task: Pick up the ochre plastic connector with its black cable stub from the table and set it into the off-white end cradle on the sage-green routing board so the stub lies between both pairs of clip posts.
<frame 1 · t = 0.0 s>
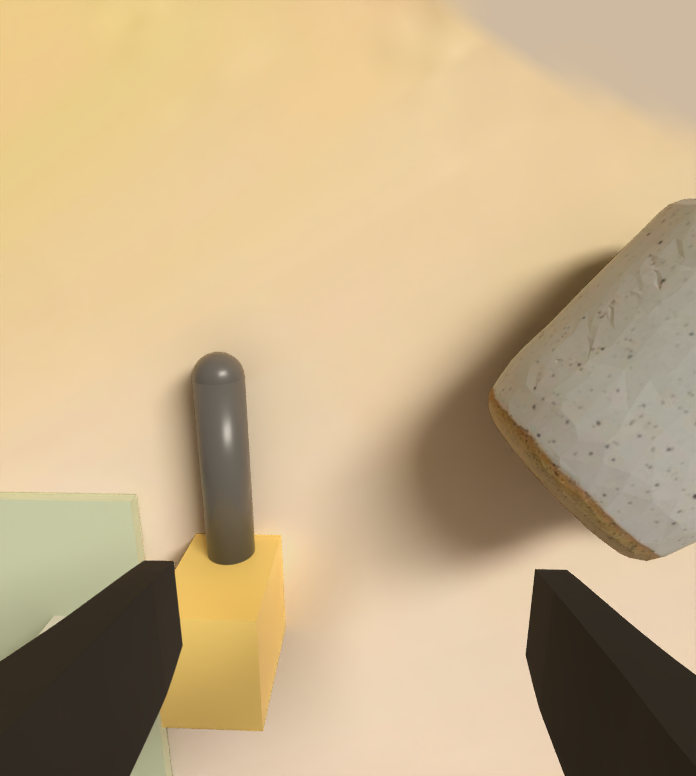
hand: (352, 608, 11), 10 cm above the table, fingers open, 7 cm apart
routing board: (50, 772, 26), on the table
connector: (242, 581, 23), on the table
ceramic mug: (637, 377, 20), on the table
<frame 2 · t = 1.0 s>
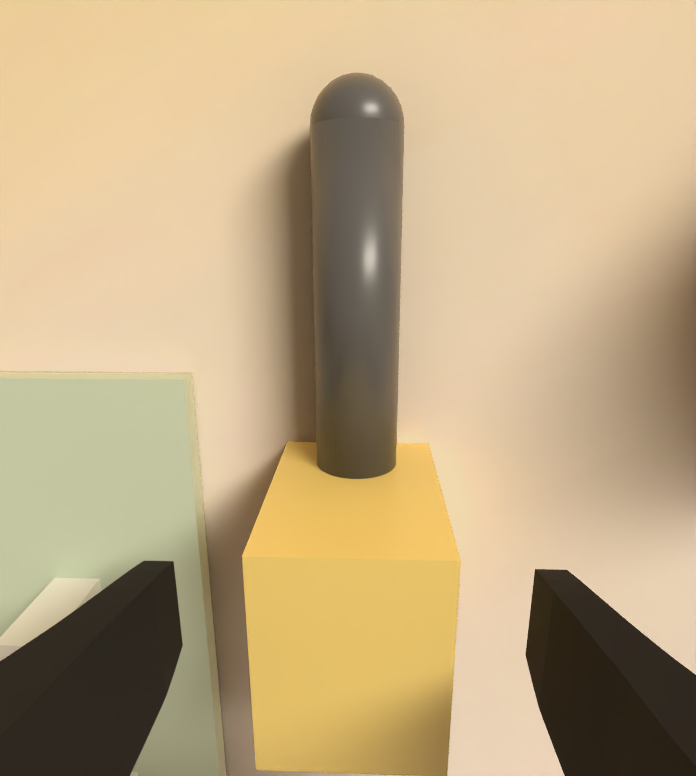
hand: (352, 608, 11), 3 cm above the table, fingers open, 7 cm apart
connector: (357, 522, 14), on the table
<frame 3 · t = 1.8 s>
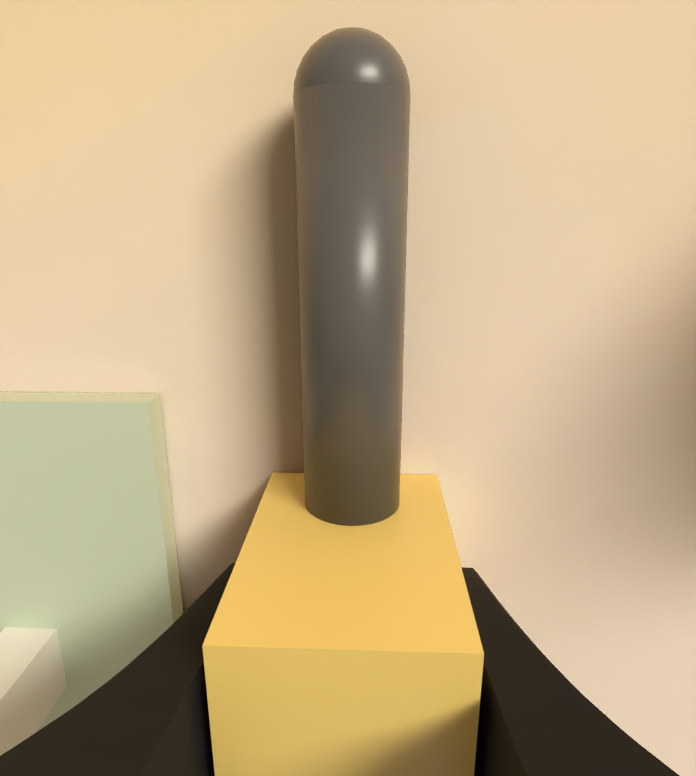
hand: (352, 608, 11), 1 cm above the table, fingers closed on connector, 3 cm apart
connector: (354, 565, 12), on the table, touching gripper
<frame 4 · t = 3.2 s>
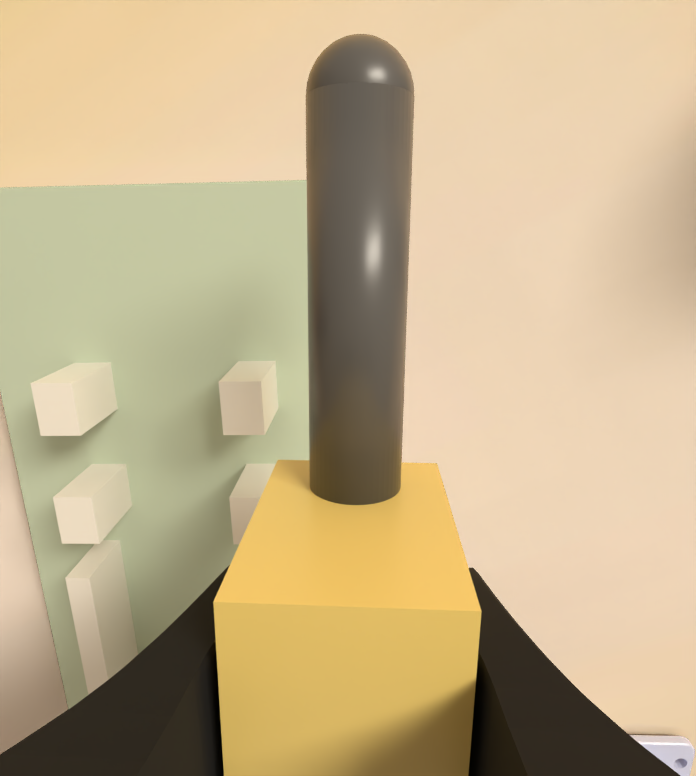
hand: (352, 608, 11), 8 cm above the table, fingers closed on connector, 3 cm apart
routing board: (207, 600, 21), on the table
connector: (355, 553, 12), point 7 cm above the table, touching gripper
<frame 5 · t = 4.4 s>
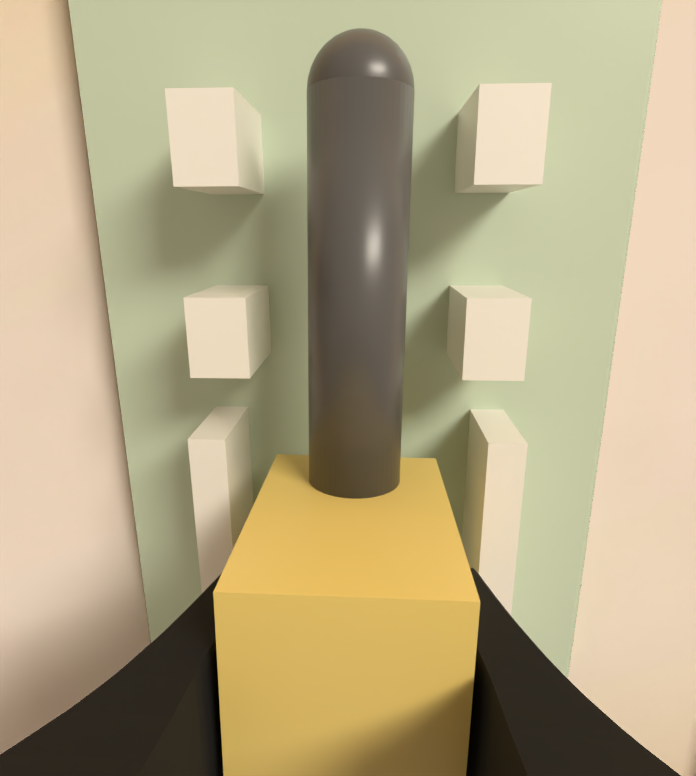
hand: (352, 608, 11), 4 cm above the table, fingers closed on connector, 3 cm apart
routing board: (358, 504, 15), on the table
connector: (354, 547, 12), point 2 cm above the table, touching gripper
when the fingers open (4 cm above the table, at t = 4.9 s): connector drops 1 cm, resting on routing board.
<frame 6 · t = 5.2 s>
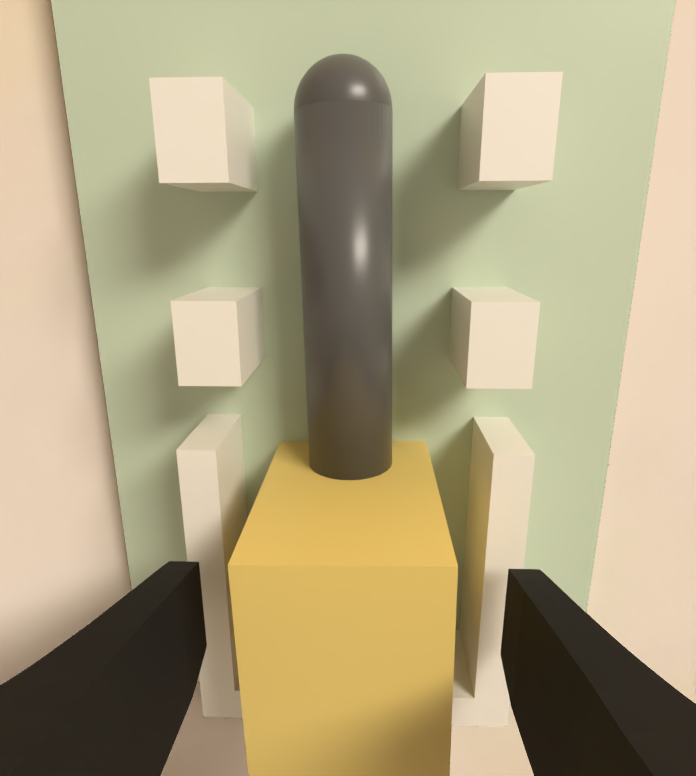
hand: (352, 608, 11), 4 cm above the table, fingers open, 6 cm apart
routing board: (356, 515, 14), on the table
connector: (354, 524, 14), point 1 cm above the table, touching routing board
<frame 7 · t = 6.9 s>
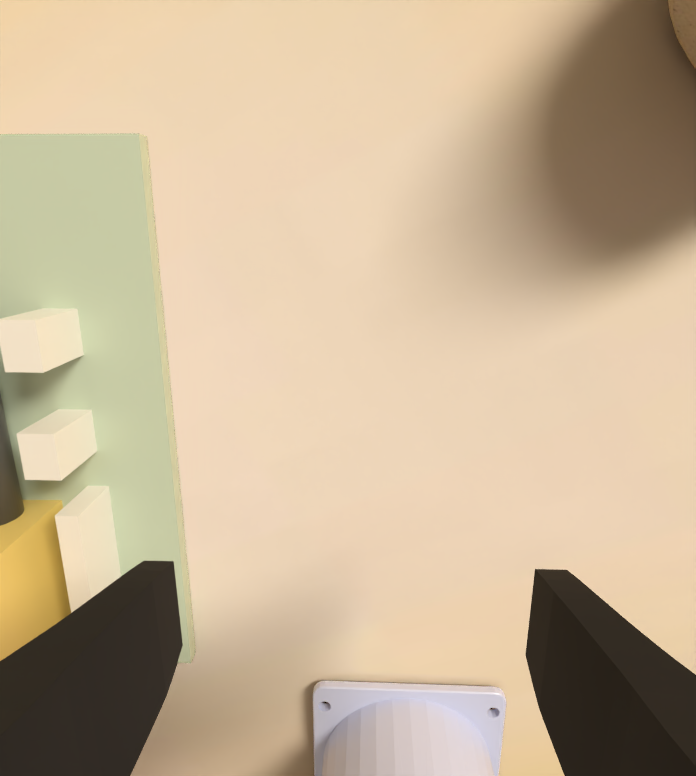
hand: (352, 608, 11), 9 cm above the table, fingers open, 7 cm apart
routing board: (38, 545, 22), on the table
connector: (27, 551, 21), point 1 cm above the table, touching routing board
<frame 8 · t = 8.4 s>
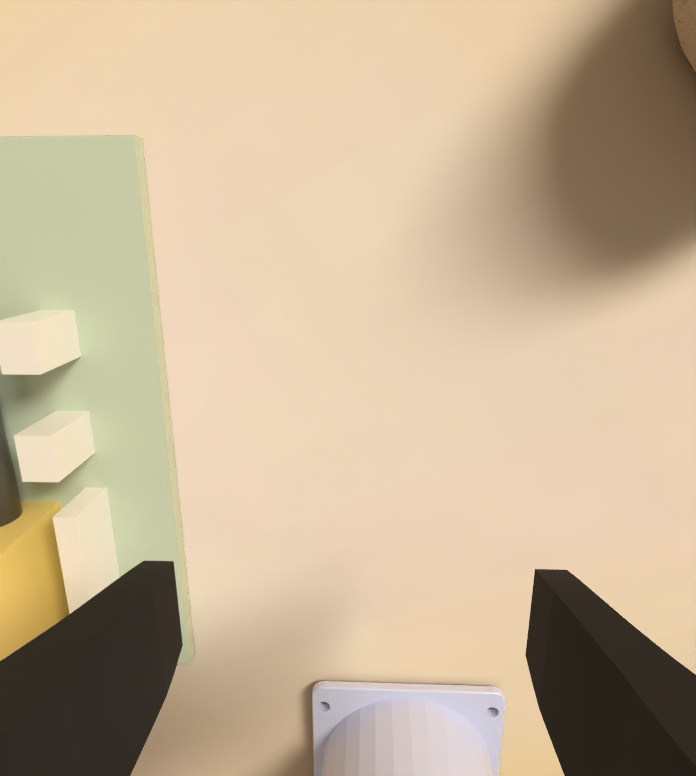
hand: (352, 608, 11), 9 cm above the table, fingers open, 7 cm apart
routing board: (36, 546, 22), on the table
connector: (26, 553, 21), point 1 cm above the table, touching routing board
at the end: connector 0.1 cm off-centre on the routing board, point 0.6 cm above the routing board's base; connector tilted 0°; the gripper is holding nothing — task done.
